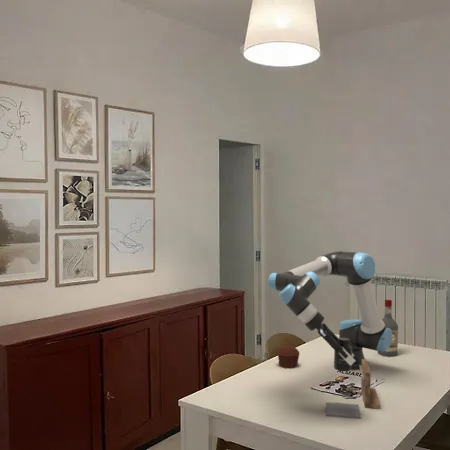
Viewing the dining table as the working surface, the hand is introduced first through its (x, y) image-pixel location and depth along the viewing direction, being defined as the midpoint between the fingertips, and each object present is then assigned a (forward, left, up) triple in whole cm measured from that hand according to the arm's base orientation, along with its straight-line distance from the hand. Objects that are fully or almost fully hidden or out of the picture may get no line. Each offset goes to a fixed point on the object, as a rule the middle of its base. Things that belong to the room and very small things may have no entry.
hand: (352, 360), depth 210 cm
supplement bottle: (-3, -2, -4) cm, 5 cm away
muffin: (-50, +38, -21) cm, 66 cm away
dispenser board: (+1, +17, -20) cm, 27 cm away
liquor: (-17, +90, -21) cm, 94 cm away
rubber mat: (-3, -2, -20) cm, 21 cm away
